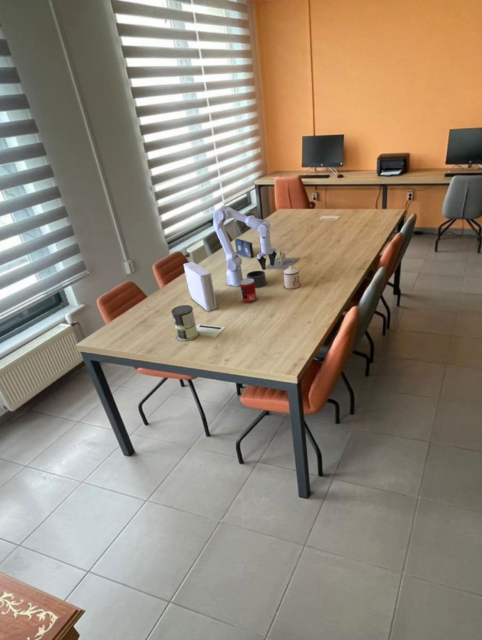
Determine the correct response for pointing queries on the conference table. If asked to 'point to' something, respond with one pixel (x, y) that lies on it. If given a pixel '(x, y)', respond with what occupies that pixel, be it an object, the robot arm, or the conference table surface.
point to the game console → (200, 286)
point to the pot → (257, 278)
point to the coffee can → (184, 322)
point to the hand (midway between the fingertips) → (268, 267)
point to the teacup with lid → (291, 277)
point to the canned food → (248, 290)
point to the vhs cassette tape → (244, 248)
